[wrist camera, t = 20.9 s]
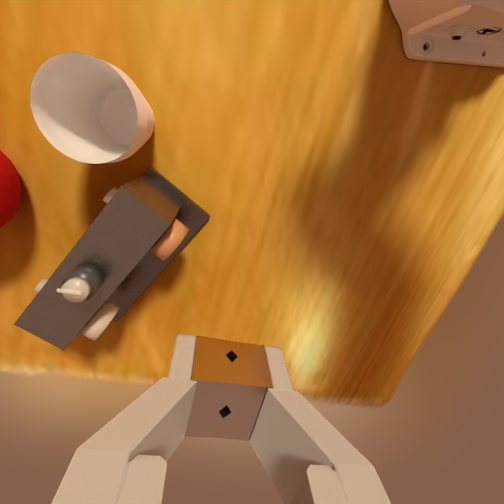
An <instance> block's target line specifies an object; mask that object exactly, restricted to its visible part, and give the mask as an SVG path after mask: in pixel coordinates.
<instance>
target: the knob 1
mask: <svg viewBox="0 0 504 504" xmlns="http://www.w3.org/2000/svg"><path fill="white" fill-rule="evenodd" d="M47 281H48V279H47V278H44V279H43V280H42V281H41V282H40V283H39V284H38V285H37V286H36V287H35V289H34V290H33V292H35V293H37V294H38V292H39V291H40V290H41V289H42V287H43V286H44V285H45V283H46V282H47ZM118 310H119V308H118V307H117V306H115V305H114V304H112V303H110V302H109V301H107V300H106V301H105V302H104V303H103V304H102V306H101V307H100V308H99V309H98V310H97V311H96V313H95V314H94V315H93V316H92V317H91V318H90V320H89V321H88V322H87V323H86V324H85V326H84V327H83V328H82V330H81V331H80V334H82V335H84V336H86V337H88V338H89V339H91V340H93V341H95V340H96V339H97V338H98V337H99V336H100V334H101V333H102V332H103V331H104V330H105V328H106V327H107V326H108V324H109V323H110V322H111V320H112V319H113V318H114V316H115V315H116V313H117V311H118Z"/></svg>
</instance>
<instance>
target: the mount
mask: <svg viewBox="0 0 504 504" xmlns="http://www.w3.org/2000/svg"><path fill="white" fill-rule="evenodd" d="M209 217H210V215H209V214H208V213H207V212H205V211H204V210H203V209H202V208H201V207H199V206H198V205H197V204H196V203H195V202H193V201H192V200H191V199H190V198H189V197H187V196H186V195H185V194H184V193H183V192H181V191H180V190H179V189H178V188H177V187H175V186H174V185H173V184H172V183H171V182H169V181H168V180H167V179H166V178H165V177H163V176H162V175H161V174H160V173H159V172H157V171H156V170H155V169H154V168H153V167H151V168H150V169H149V170H148V171H147V173H146V174H144V175H142V176H140V177H138V178H136V179H134V180H132V181H130V182H128V183H126V184H124V185H121V186H120V188H119V189H118V190H117V191H116V193H115V194H114V195H113V197H112V198H111V199H110V201H109V202H108V203H107V204H106V206H105V207H104V208H103V210H102V211H101V212H100V213H99V215H98V216H97V217H96V219H95V220H94V221H93V223H92V224H91V225H90V226H89V228H88V229H87V230H86V232H85V233H84V234H83V236H82V237H81V238H80V239H79V241H78V242H77V243H76V245H75V246H74V247H73V248H72V250H71V251H70V252H69V254H68V255H67V256H66V258H65V259H64V260H63V261H62V263H61V264H60V265H59V267H58V268H57V269H56V270H55V272H54V273H53V274H52V276H51V277H50V278H49V280H48V281H47V282H46V283H45V285H44V286H43V287H42V289H41V290H40V291H39V292H38V294H37V295H36V296H35V298H34V299H33V300H32V302H31V303H30V304H29V305H28V307H27V308H26V309H25V311H24V312H23V313H22V314H21V316H20V317H19V318H18V320H17V321H16V322H15V324H14V325H16V326H18V327H20V328H22V329H24V330H26V331H28V332H30V333H32V334H33V335H35V336H37V337H39V338H41V339H43V340H45V341H47V342H49V343H51V344H53V345H55V346H56V347H58V348H60V349H62V350H64V349H65V348H66V347H67V345H68V344H69V343H70V342H71V341H72V340H73V338H74V337H75V336H76V335H77V334H78V333H79V331H80V330H81V329H82V328H83V327H84V326H85V324H86V323H87V322H88V321H89V320H90V318H91V317H92V316H93V315H94V314H95V313H96V311H97V310H98V309H99V308H100V307H101V306H102V304H103V303H104V302H105V301H106V300H107V301H109V302H110V303H112V304H114V305H115V306H117V307H118V308H119V310H118V311H117V313H116V315H115V316H114V318H113V319H112V320H113V321H115V322H117V321H118V320H119V319H120V318H121V316H122V315H123V314H124V313H125V312H126V311H127V310H128V309H129V307H130V306H131V305H132V304H133V303H134V302H135V301H136V299H137V298H138V297H139V296H140V295H141V294H142V293H143V292H144V290H145V289H146V288H147V287H148V286H149V285H150V284H151V283H152V281H153V280H154V279H155V278H156V277H157V276H158V275H159V274H160V272H161V271H162V270H163V269H164V268H165V267H166V266H167V265H168V263H169V262H170V261H171V260H172V259H173V258H174V257H175V256H176V254H177V253H178V252H179V251H180V250H181V249H182V248H183V246H184V245H185V244H186V243H187V242H188V241H189V240H190V239H191V237H192V236H193V235H194V234H195V233H196V232H197V231H198V230H199V228H200V227H201V226H202V225H203V224H204V223H205V222H206V221H207V219H208V218H209ZM175 218H176V219H177V220H178V221H180V222H181V223H182V224H183V225H185V226H186V227H187V228H189V231H188V233H187V234H186V236H185V237H184V239H183V240H182V242H181V243H180V244H179V245H178V247H177V248H176V249H175V250H174V251H173V253H172V254H171V255H170V256H169V257H168V258H167V259H166V260H164V261H163V260H161V259H160V258H159V257H157V256H156V255H154V254H153V253H152V252H150V251H149V250H150V248H151V247H152V246H153V245H154V244H155V242H156V241H157V240H158V239H159V238H160V237H161V235H162V234H163V233H164V232H165V231H166V229H167V228H168V227H169V226H170V225H171V223H172V221H173V220H174V219H175ZM83 263H90V264H93V265H96V266H97V267H99V268H100V269H101V270H102V272H103V274H104V282H103V284H102V285H101V287H100V288H99V289H98V290H97V292H96V293H95V294H94V295H93V297H91V298H90V299H88V300H84V301H82V302H71V301H68V300H67V299H65V298H64V296H63V295H62V293H61V292H57V289H58V288H59V289H61V288H62V281H63V279H64V278H65V277H66V276H67V275H68V274H69V273H70V272H71V271H72V270H74V269H75V268H76V267H77V266H78V265H80V264H83Z"/></svg>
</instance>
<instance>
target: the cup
mask: <svg viewBox="0 0 504 504" xmlns="http://www.w3.org/2000/svg"><path fill="white" fill-rule="evenodd" d="M30 103H31V109H32V113H33V116H34V119H35V121H36V123H37V125H38V127H39V129H40V131H41V132H42V134H43V135H44V136H45V138H46V139H47V140H48V141H49V142H50V143H51V144H52V145H53V146H54V147H55V148H56V149H57V150H59V151H60V152H61V153H63V154H64V155H66V156H68V157H70V158H72V159H74V160H77V161H80V162H84V163H91V164H100V163H115V162H119V161H122V160H124V159H126V158H128V157H130V156H132V155H133V154H134V153H135V152H136V151H137V150H138V149H139V148H141V147H142V146H143V145H144V144H145V143H146V142H147V141H148V140H149V138H150V137H151V135H152V133H153V130H154V115H153V112H152V109H151V107H150V106H149V104H148V102H147V101H146V99H145V98H144V96H143V95H142V93H141V92H140V91H139V89H138V88H137V86H136V85H135V84H134V82H133V81H132V80H131V79H130V78H129V77H128V76H127V75H126V74H125V73H124V72H123V71H121V70H120V69H119V68H117V67H115V66H114V65H112V64H110V63H108V62H105V61H103V60H100V59H98V58H96V57H94V56H91V55H88V54H84V53H79V52H66V53H61V54H58V55H55V56H53V57H51V58H49V59H48V60H46V61H45V62H44V63H43V64H42V65H41V66H40V67H39V69H38V70H37V72H36V73H35V75H34V78H33V80H32V84H31V90H30Z"/></svg>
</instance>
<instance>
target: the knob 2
mask: <svg viewBox="0 0 504 504" xmlns="http://www.w3.org/2000/svg"><path fill="white" fill-rule="evenodd" d="M117 190H118V189H116V188H115V187H113V188H112V189H111V190H110V191H109V192H108V193H107V194H106V196H105V197H104V199H103V201H104V202H105V203H108V202H109V201H110V199H111V198H112V197H113V195H114V194H115V193H116V191H117ZM188 231H189V228H187V227H186V226H185V225H183V224H182V223H181V222H180V221H178V220H177V219H176V218H175V219H174V220H173V221H172V223H171V225H170V226H169V227H168V228H167V229H166V231H165V232H164V233H163V234H162V235H161V237H160V238H159V239H158V240H157V241H156V242H155V244H154V245H153V246H152V247H151V248H150V250H149V251H150V252H152V253H153V254H154V255H156V256H157V257H159V258H160V259H161V260H163V261H164V260H166V259H167V258H168V257H169V256H170V255H171V254H172V253H173V251H174V250H175V249H176V248H177V247H178V245H179V244H180V243H181V242H182V240H183V239H184V237H185V236H186V234H187V233H188Z"/></svg>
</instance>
